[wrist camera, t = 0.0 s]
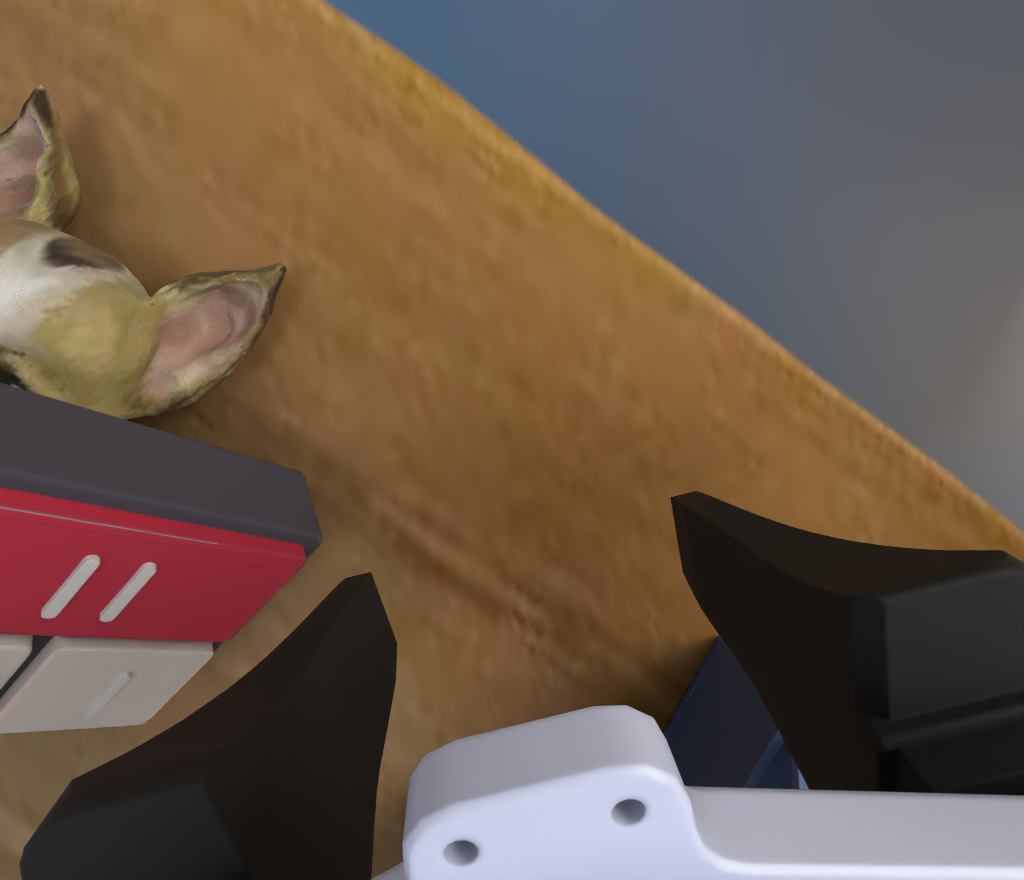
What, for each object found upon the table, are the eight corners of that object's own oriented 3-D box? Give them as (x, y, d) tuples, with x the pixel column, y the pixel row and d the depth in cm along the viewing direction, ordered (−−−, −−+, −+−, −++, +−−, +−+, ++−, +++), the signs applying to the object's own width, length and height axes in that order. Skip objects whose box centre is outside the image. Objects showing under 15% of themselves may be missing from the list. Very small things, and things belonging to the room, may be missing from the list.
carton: (718, 635, 26) (793, 734, 19) (946, 740, 27) (1089, 867, 21) (576, 880, 28) (602, 1047, 21) (796, 969, 29) (884, 1152, 22)
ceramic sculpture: (-496, 473, 15) (-158, -49, 14) (-140, 433, 23) (80, 110, 22) (-86, 707, 16) (240, 245, 15) (106, 588, 25) (321, 289, 24)
